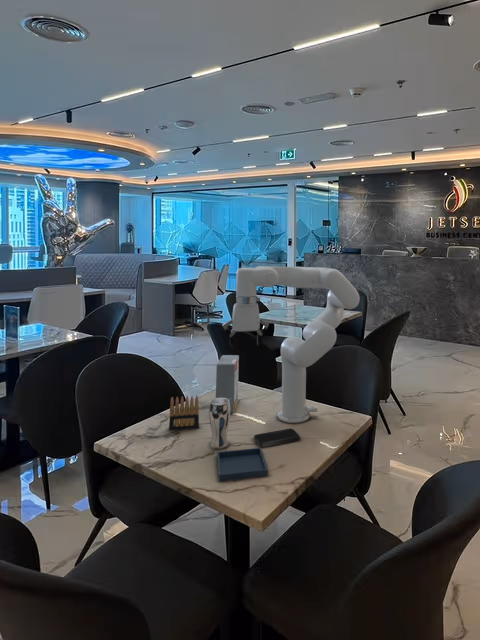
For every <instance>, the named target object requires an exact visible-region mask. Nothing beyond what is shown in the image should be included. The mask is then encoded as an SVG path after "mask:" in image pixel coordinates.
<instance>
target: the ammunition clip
mask: <svg viewBox="0 0 480 640" xmlns="http://www.w3.org/2000/svg"><path fill="white" fill-rule="evenodd" d="M184 400H185V401H184ZM169 404H170V405H169V422H168V423H169V425H168V431H182V430H194V429H195V430H197V429H199V428H200V405H199V396H198V395H195V399H194V396H193V395H191V397H190V400H189V396H188V395H187V396H186V397H185V399H184V396H183V395H182V396H181V398H180V401H179V397H178V396H176V398H175V400H174V397H173V396H171V397H170V403H169Z"/></svg>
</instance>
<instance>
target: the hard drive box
mask: <svg viewBox="0 0 480 640" xmlns="http://www.w3.org/2000/svg"><path fill="white" fill-rule="evenodd" d="M239 362H240V355H238V354H237V355H236V354H234V355H233V354H226V355H225V354H223V355H221V356H220V358H219V360H218V361H217V363H216V369H215V375H216V376H215V398H227V399H229V400H230V414H235V410H236V408H237V405H238V402H239V367H240V365H239V364H240V363H239Z"/></svg>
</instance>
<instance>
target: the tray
mask: <svg viewBox="0 0 480 640" xmlns="http://www.w3.org/2000/svg"><path fill="white" fill-rule="evenodd" d="M216 459H217V461H216V462H217V471H218V481H219V482H227V481H236V480H244V479H253V478H262V477H268V475H269V469H268V465H267V462H266V459H265V455H264V453H263V449H262V447H255V448H244V449H235V450H224V451H217V452H216Z"/></svg>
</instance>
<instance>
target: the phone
mask: <svg viewBox="0 0 480 640" xmlns="http://www.w3.org/2000/svg"><path fill="white" fill-rule="evenodd" d="M300 438H301V436H300V434H299V433H298V432H297V431H296V430H295V429H294V428H285V429H279V430H273V431H269V432H263V433H257V434H254V435H253V440H254V442H255V443H256V444H257V446H258V448H266V447H271V446H277V445H282V444H286V443H293V442H297V441H300V440H301V439H300Z"/></svg>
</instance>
